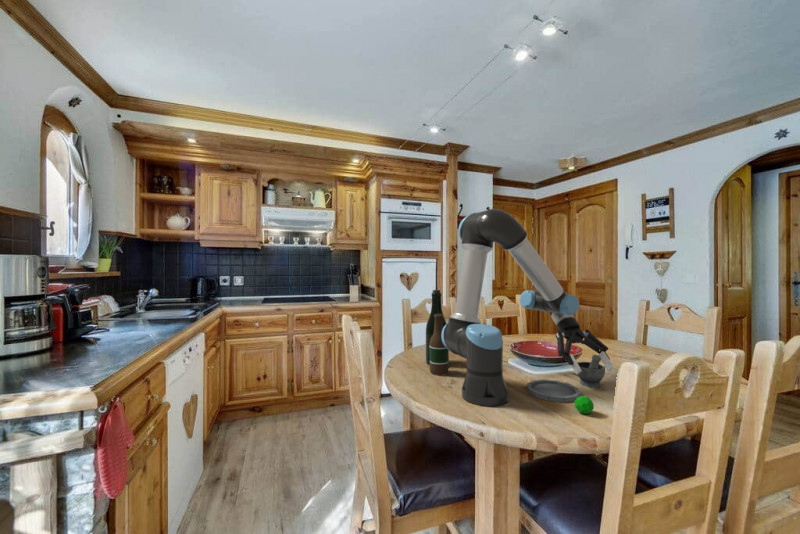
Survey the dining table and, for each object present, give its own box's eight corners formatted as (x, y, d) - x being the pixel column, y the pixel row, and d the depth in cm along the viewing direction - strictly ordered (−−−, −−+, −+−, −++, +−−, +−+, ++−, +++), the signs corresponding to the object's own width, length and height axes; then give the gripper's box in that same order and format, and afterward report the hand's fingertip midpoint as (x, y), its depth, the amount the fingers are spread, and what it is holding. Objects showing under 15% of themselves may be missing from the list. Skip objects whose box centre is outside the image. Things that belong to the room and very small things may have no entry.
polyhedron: (576, 407, 103) (576, 392, 102) (595, 412, 99) (595, 396, 99) (573, 413, 99) (572, 397, 99) (592, 418, 96) (591, 401, 96)
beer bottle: (439, 377, 132) (438, 316, 131) (425, 372, 138) (425, 314, 137) (452, 372, 136) (452, 314, 136) (438, 368, 142) (438, 312, 142)
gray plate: (568, 406, 103) (568, 402, 103) (518, 392, 115) (518, 387, 115) (587, 392, 114) (587, 388, 114) (540, 380, 126) (540, 376, 126)
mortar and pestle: (570, 379, 127) (570, 348, 127) (596, 379, 126) (595, 348, 126) (584, 390, 116) (584, 356, 116) (612, 391, 115) (612, 356, 115)
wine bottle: (446, 359, 155) (445, 288, 155) (451, 366, 145) (450, 290, 144) (424, 360, 155) (423, 289, 154) (427, 367, 144) (426, 290, 144)
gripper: (587, 325, 139) (618, 372, 124) (533, 328, 133) (559, 379, 119) (597, 314, 134) (630, 362, 119) (542, 317, 128) (570, 368, 114)
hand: (595, 371), depth 119 cm, fingers open, 13 cm apart
